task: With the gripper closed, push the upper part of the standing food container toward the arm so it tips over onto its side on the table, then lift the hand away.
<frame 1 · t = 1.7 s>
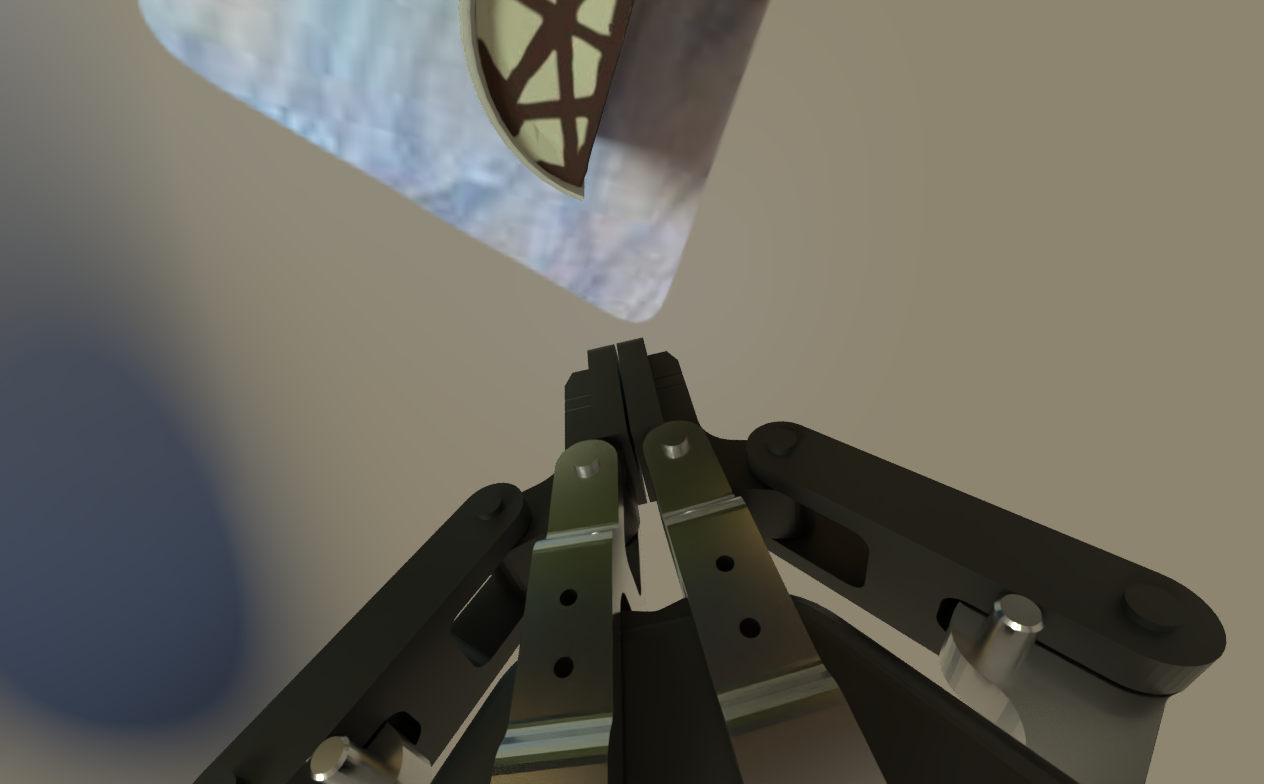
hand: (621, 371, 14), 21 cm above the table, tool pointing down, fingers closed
food container: (549, 10, 26), on the table
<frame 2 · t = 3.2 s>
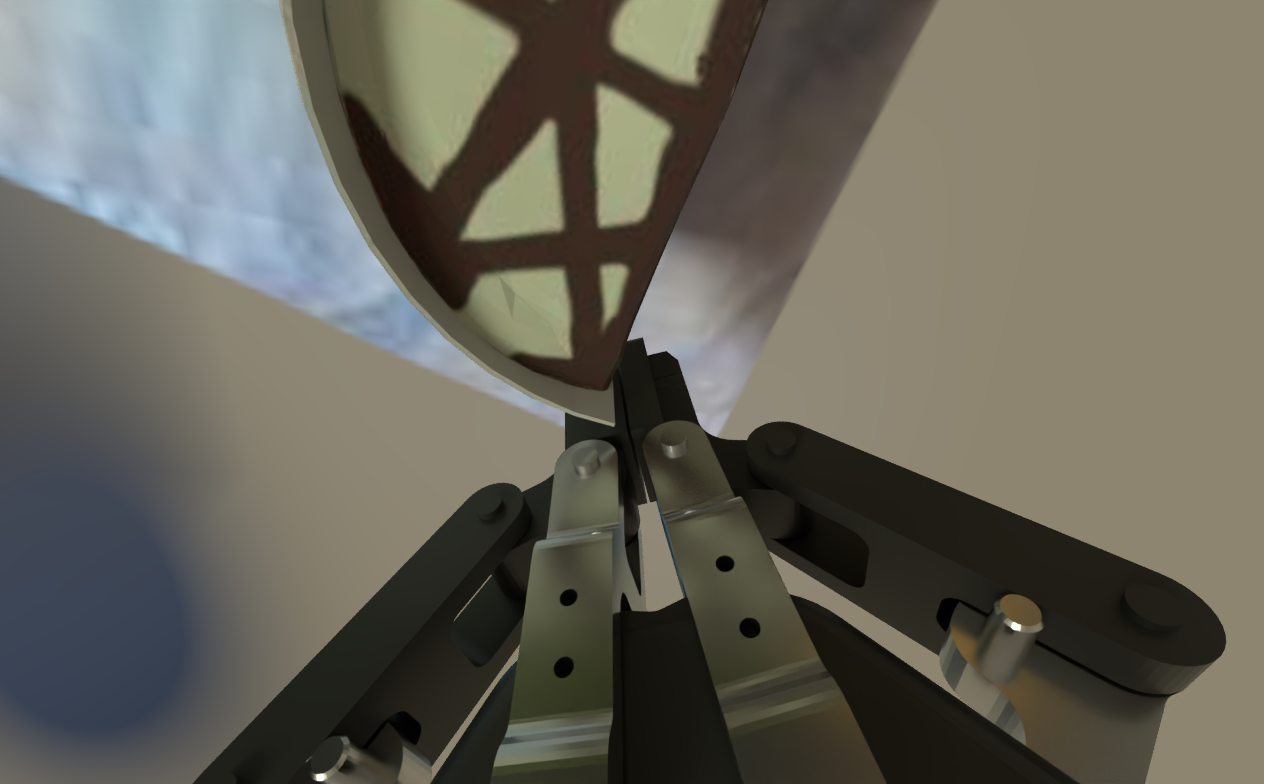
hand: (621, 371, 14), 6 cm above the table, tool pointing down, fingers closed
food container: (544, 11, 14), on the table, touching gripper
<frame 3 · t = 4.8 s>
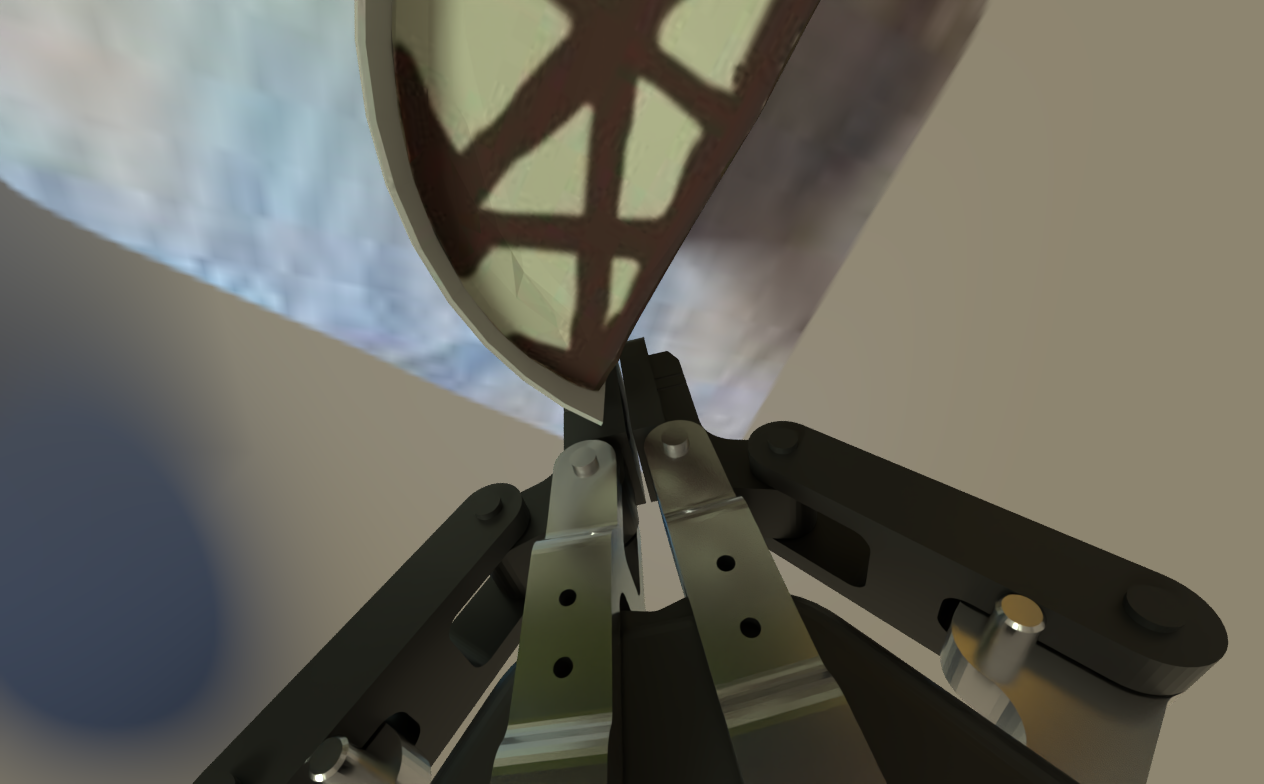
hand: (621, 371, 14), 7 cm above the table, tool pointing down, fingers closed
food container: (589, 53, 15), on the table, touching gripper
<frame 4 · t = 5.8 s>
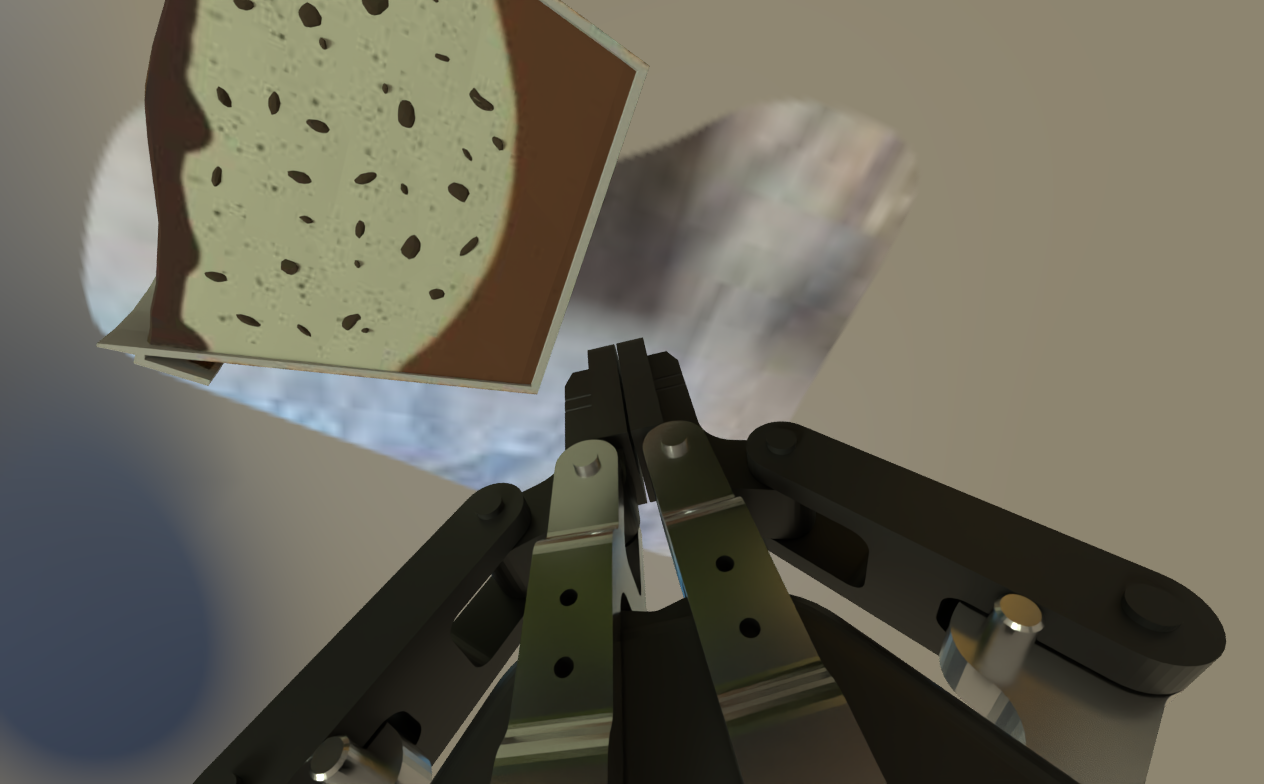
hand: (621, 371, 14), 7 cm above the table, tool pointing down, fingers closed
food container: (568, 230, 17), point 2 cm above the table
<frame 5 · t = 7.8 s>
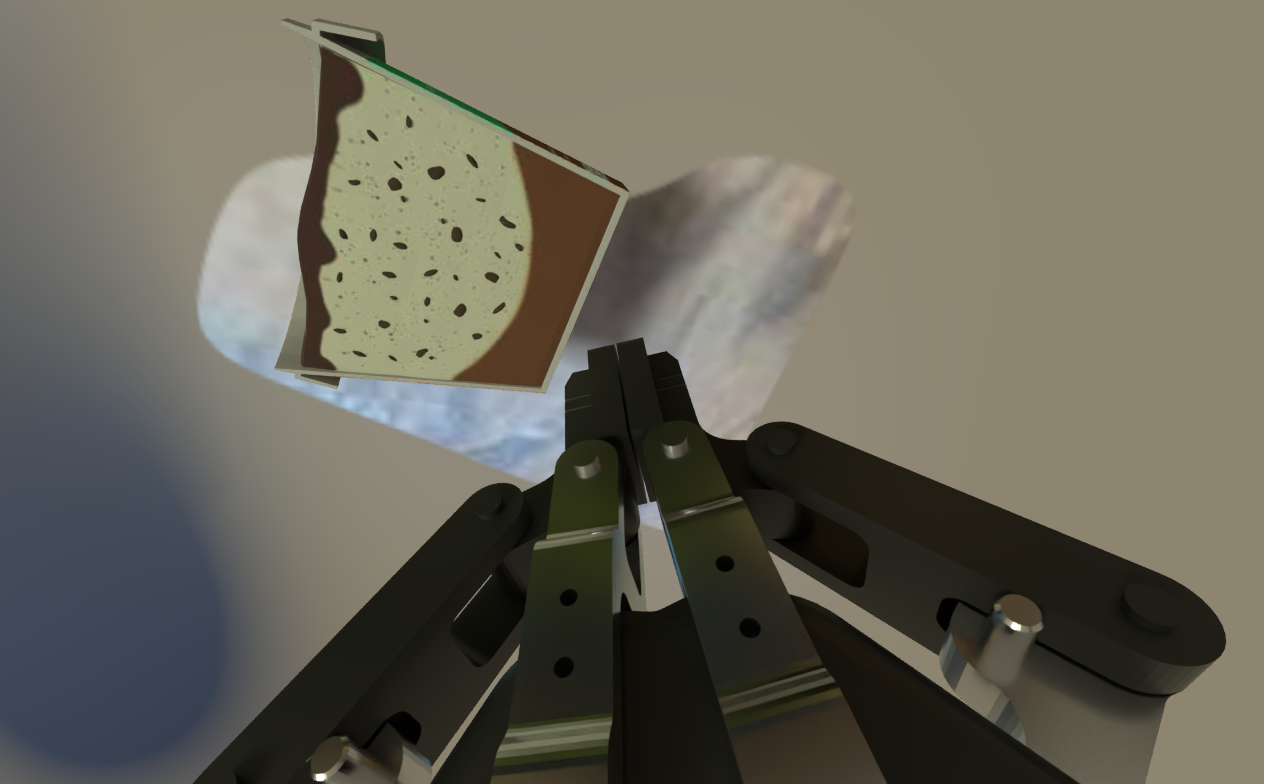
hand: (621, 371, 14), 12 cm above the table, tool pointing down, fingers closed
food container: (575, 268, 22), point 2 cm above the table
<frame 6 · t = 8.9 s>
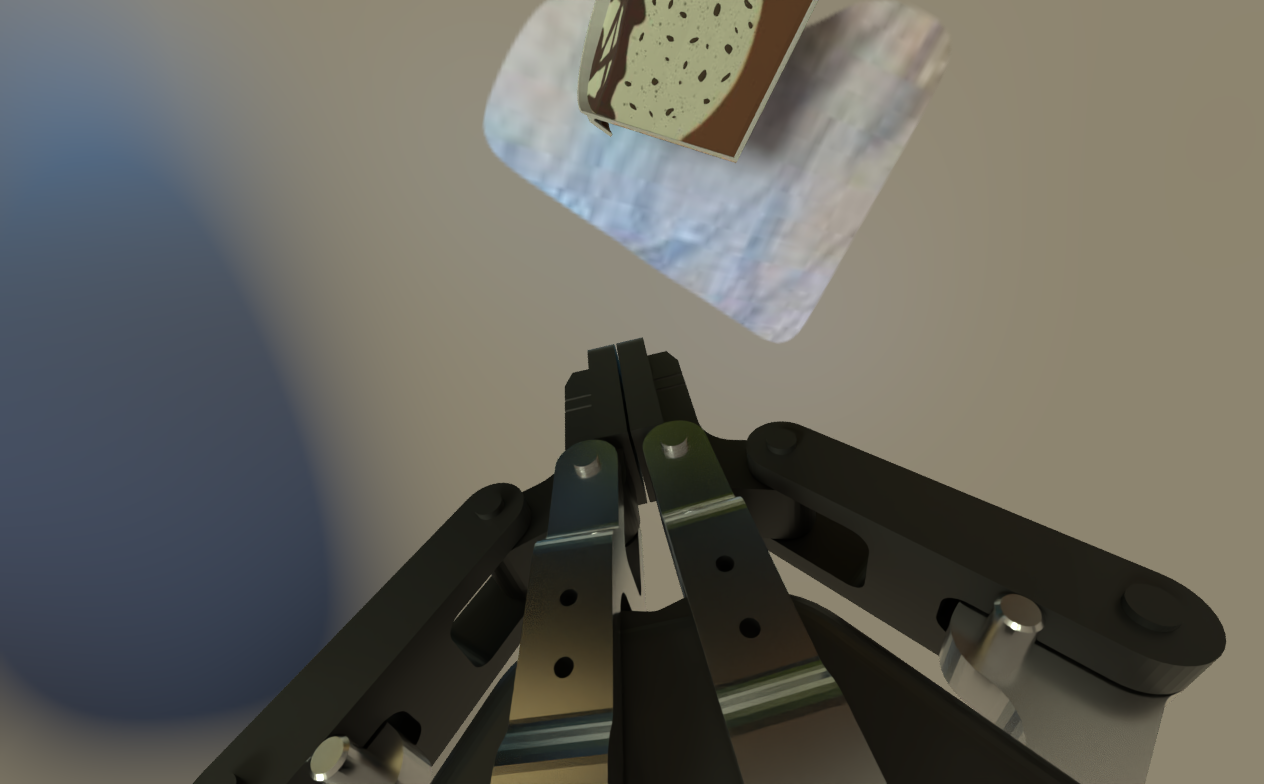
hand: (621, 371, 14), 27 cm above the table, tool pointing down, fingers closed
food container: (757, 75, 32), point 2 cm above the table
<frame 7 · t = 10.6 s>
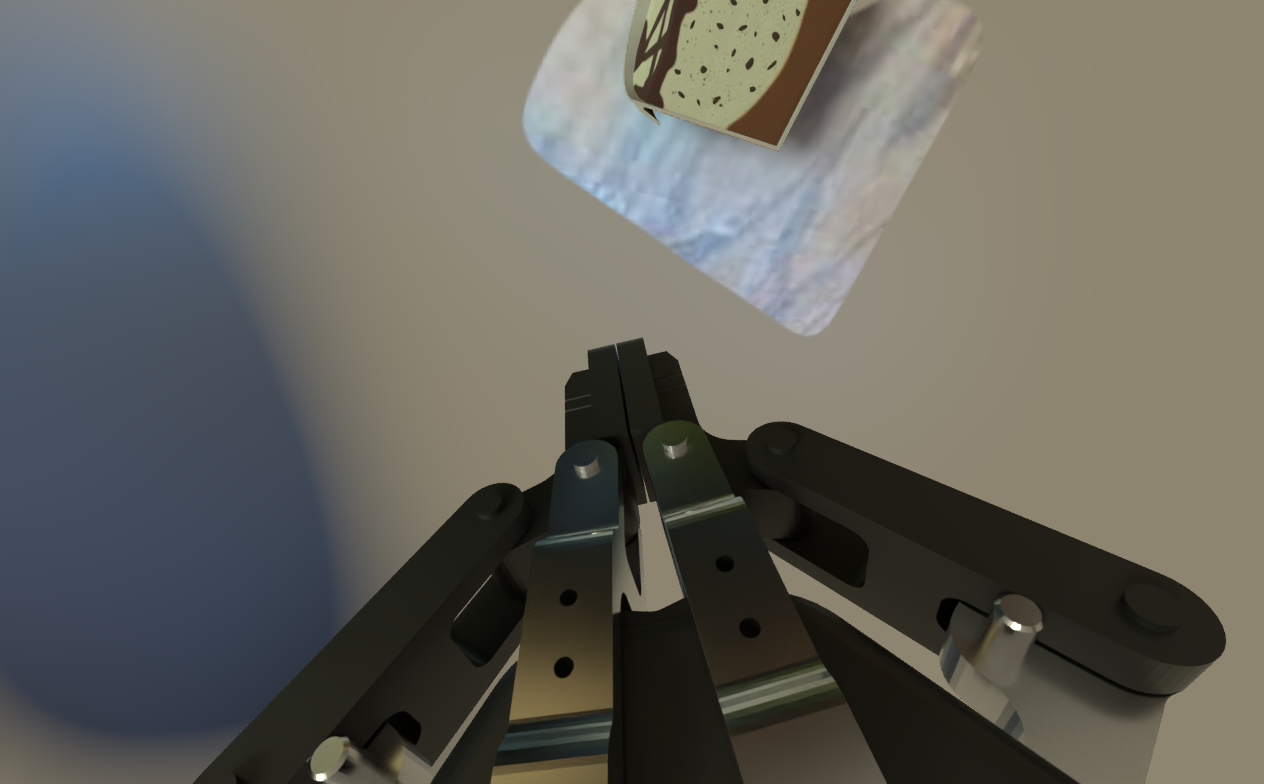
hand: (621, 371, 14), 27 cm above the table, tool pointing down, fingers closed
food container: (796, 65, 32), point 2 cm above the table
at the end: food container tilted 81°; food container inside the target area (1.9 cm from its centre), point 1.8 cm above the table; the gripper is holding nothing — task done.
